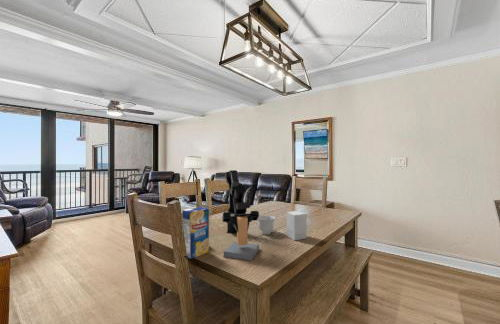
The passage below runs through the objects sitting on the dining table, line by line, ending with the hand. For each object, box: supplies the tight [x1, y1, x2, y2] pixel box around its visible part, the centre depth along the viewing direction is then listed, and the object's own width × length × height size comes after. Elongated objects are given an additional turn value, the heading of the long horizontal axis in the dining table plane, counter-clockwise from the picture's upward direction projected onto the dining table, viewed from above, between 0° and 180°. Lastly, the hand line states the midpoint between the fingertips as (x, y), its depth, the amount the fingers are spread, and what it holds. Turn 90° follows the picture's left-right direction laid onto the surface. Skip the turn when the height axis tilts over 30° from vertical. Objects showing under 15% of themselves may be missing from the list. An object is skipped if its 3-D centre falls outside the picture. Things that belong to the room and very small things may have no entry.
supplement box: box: [286, 210, 308, 241], centre depth 139 cm, size 9×9×15 cm
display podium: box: [223, 241, 260, 261], centre depth 116 cm, size 14×14×2 cm
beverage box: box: [182, 206, 210, 259], centre depth 115 cm, size 7×11×22 cm, turn 138°
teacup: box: [257, 214, 276, 235], centre depth 149 cm, size 12×15×10 cm
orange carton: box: [236, 216, 249, 245], centre depth 116 cm, size 5×5×13 cm
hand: (242, 231), depth 114 cm, fingers closed on orange carton, 5 cm apart
